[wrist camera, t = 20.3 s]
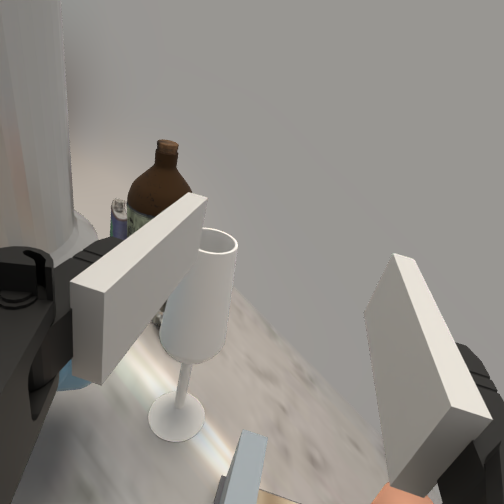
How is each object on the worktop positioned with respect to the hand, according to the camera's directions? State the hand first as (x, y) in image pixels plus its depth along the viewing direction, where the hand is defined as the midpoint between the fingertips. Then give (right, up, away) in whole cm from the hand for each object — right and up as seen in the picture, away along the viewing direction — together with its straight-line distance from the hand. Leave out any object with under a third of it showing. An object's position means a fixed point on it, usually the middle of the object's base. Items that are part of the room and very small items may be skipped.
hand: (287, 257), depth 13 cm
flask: (-29, +1, +57) cm, 64 cm away
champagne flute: (-10, -20, +28) cm, 36 cm away
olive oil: (-20, -5, +51) cm, 55 cm away
